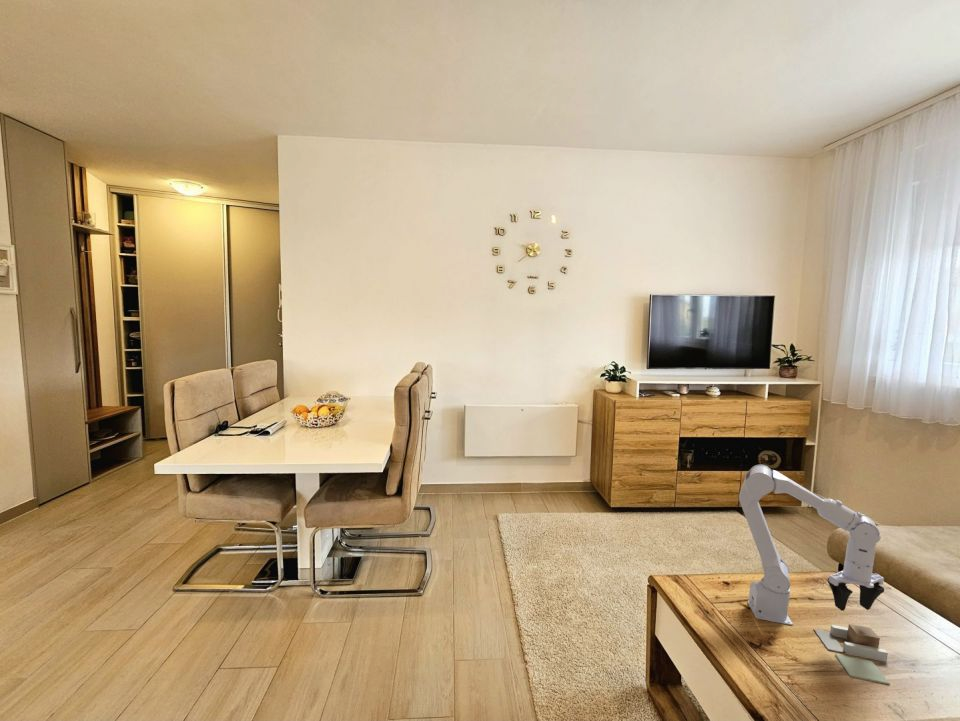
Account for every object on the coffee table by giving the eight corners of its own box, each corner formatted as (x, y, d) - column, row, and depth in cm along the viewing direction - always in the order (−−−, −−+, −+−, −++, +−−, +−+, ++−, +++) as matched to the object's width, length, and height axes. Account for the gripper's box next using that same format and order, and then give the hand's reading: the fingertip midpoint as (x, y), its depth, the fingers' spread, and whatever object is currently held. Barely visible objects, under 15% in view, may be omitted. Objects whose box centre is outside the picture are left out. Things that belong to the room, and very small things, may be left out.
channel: (827, 650, 115) (829, 641, 115) (813, 629, 123) (814, 621, 123) (886, 661, 112) (887, 653, 112) (868, 640, 119) (869, 631, 119)
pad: (850, 676, 107) (850, 674, 107) (835, 655, 113) (835, 653, 113) (889, 684, 105) (889, 683, 105) (871, 662, 111) (872, 661, 111)
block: (854, 651, 115) (857, 633, 115) (846, 640, 119) (848, 623, 119) (877, 655, 114) (879, 638, 113) (868, 644, 118) (870, 627, 117)
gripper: (848, 570, 112) (841, 618, 114) (898, 569, 114) (890, 617, 115) (824, 555, 119) (818, 601, 121) (871, 554, 121) (864, 599, 122)
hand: (852, 607), depth 118 cm, fingers open, 7 cm apart
